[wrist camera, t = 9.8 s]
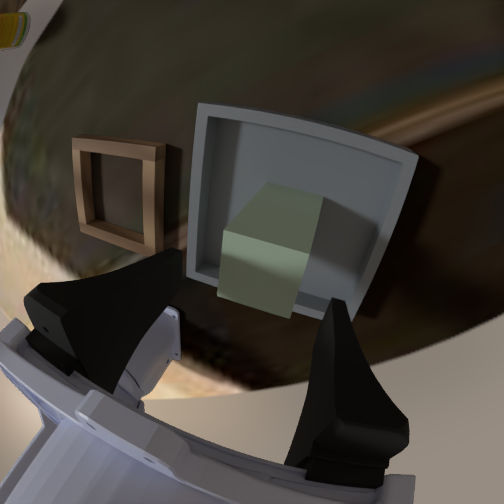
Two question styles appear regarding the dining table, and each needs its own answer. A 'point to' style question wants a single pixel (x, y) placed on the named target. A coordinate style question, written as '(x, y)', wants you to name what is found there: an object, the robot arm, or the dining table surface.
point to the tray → (302, 178)
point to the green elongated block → (269, 248)
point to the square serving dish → (8, 6)
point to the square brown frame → (152, 191)
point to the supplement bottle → (13, 29)
